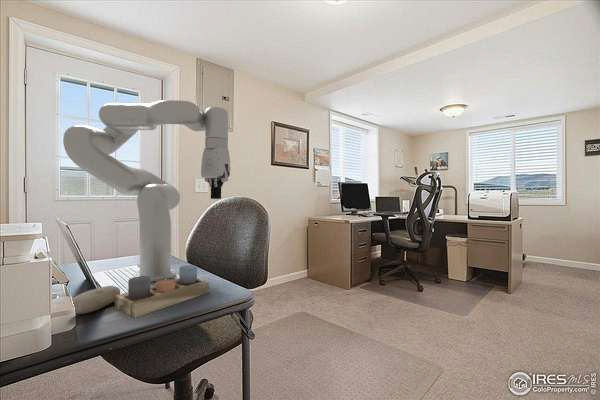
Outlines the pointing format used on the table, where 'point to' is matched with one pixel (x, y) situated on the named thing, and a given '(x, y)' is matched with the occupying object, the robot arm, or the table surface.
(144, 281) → the charcoal button
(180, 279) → the slate button
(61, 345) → the table surface
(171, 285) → the terracotta button
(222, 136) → the robot arm
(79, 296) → the stone
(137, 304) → the birch board
